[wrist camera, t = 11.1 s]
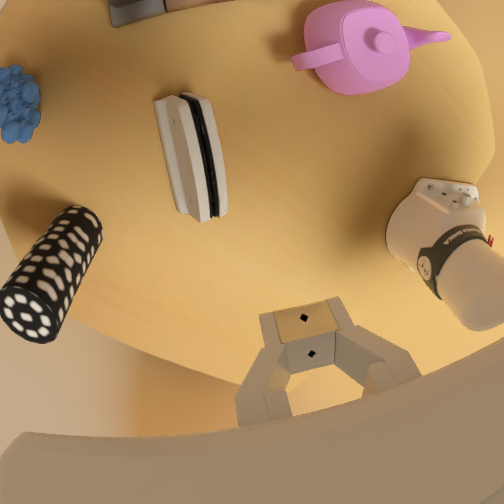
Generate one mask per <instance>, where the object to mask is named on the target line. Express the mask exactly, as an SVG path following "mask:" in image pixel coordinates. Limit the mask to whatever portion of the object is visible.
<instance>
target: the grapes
mask: <svg viewBox="0 0 504 504" xmlns="http://www.w3.org/2000/svg"><path fill="white" fill-rule="evenodd" d="M22 73H23V67H21V66H20V65H17V64H12V65H11V66H9V67H8V68H7V67H0V128H1V127H2V129H1V138H2V140H3V141H4V142H6V143H8V144H10V143H14V142H15V141H16V140H17V141H18V142H20V143H27V142H28V141H29V140H30V139H31V137H32V135H33V130H34V129H35V128H36V127H38V125H39V123H40V118H41V113H40V112H39V111H38V110H36V108H37V107H38V105H39V103H40V98H41V94H39V84H37V83H36V82H34V77H33V76H32V75H30V74H23V75H22Z"/></svg>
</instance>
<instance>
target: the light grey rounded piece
mask: <svg viewBox="0 0 504 504" xmlns="http://www.w3.org/2000/svg"><path fill="white" fill-rule="evenodd" d="M154 107H155V112H156V117H157V122H158V127H159V132H160V137H161V142H162V147H163V151H164V156H165V161H166V165H167V170H168V174H169V179H170V183H171V187H172V192H173V196H174V200H175V204H176V208H177V211H178V212H179V213H180V214H190V215H191V216H192V217H194V218H195V219H196V220H197V221H199V222H206V221H210V218H212V216H214V217H218V218H220V217H221V216H223V215H225V214H226V213H228V195H227V184H226V175H225V168H224V161H223V155H222V149H221V145H220V140H219V135H218V131H217V126H216V122H215V119H214V115H213V111H212V108H211V104H210V102H209V100H208V98H206V97H203V96H200V95H197V94H194V93H182V95H180V97H177V96H174V95H170V96H168V97H165V98H163V99H161V100H157V101H154Z"/></svg>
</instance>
